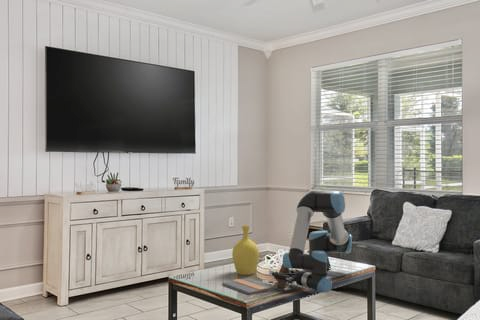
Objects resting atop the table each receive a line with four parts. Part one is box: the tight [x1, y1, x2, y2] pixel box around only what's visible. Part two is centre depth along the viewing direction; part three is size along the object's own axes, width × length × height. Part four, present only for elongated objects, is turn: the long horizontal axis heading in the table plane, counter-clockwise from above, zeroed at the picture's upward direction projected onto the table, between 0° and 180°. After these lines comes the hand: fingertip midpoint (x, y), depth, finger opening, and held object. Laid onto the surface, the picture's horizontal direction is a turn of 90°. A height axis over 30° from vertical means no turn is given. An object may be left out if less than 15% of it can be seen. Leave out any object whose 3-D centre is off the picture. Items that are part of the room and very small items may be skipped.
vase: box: [231, 225, 260, 276], centre depth 273 cm, size 16×16×28 cm
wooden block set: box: [275, 263, 292, 289], centre depth 247 cm, size 18×9×10 cm, turn 161°
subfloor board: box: [221, 277, 278, 296], centre depth 241 cm, size 18×24×2 cm
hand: (276, 271), depth 251 cm, fingers open, 9 cm apart
